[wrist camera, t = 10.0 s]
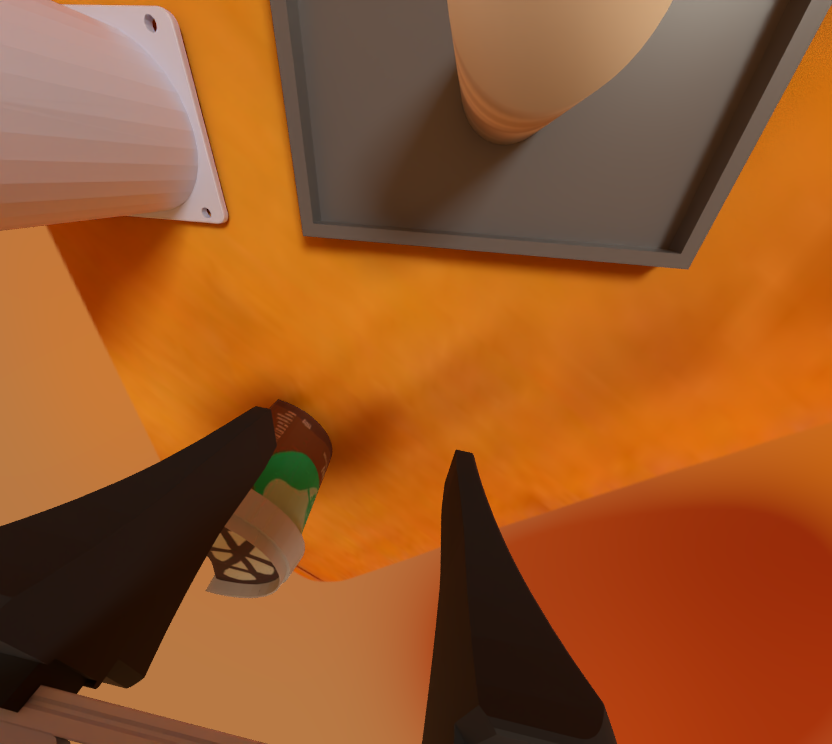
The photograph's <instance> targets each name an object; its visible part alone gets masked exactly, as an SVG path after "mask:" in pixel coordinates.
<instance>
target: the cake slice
mask: <svg viewBox="0 0 832 744" xmlns="http://www.w3.org/2000/svg"><path fill="white" fill-rule="evenodd" d="M269 409H271V412H272V418H273V424H274V430H275V437H276V443H277V447H276V449H275V451H274V453H273V455H272V457H271V458H270V460H269V462H268V464H267V466H266V468H265V469H264V471H263V472H262V474H261V475H260V477H259V478H258V480H257V481H256V482H255V484H254V485H253V487H252V488H251V490H250V491H249V492H248V494H247V495H246V497H245V498H244V499H243V501H242V502H241V504H240V505H239V507H238V508H237V509H236V511H235V512H234V514H233V515H232V516H231V518H230V519H229V521H228V522H227V523H226V525H225V527H224V528H223V530H222V531H221V533H220V534H219V536H218V537H217V539H216V541H215V543H214V544H213V546H212V548H211V549H210V551H209V553H208V555H207V556H208V557H209V559H210V560H211V562H212V565H213V568H214V572H215V576H214V577H213V579H212V581H211V583H210V584H209V586H208V587H207V589H206V591H207V592H211V593H215V594H219V595H224V596H231V597H239V598H258V597H264V596H267V595H270V594H272V593H274V592H275V591H277V589H278V588H279V587H280V585H281V584H282V583H284V582H285V581H286V580H287V579H288V577H289V576H290V574H291V573H292V571H293V570H294V569H295V567H296V566H297V564H298V563H299V561H300V560H301V558H302V557H303V554H304V551H305V546H304V540H303V538H302V535H301V534H302V532H303V529H304V526H305V524H306V521H307V519H308V516H309V513H310V511H311V508H312V506H313V503H314V501H315V498H316V495H317V493H318V490H319V488H320V485H321V482H322V480H323V477H324V475H325V472H326V470H327V467H328V464H329V462H330V459H331V456H332V445H331V442H330V439H329V437H328V435H327V433H326V432H325V430H324V429H323V428H322V427H321V425H320V424H319V423H318V422H317V421H316V420H315V419H314V418H312V417H311V416H310V415H308V414H307V413H306V412H304V411H303V410H301V409H299V408H298V407H296V406H294V405H291V404H289V403H287V402H284V401H281V400H277V401H276V402H275V403H274V404H273V405H272V406H271V407H270V408H269Z"/></svg>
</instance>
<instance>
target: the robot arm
mask: <svg viewBox="0 0 832 744" xmlns="http://www.w3.org/2000/svg"><path fill="white" fill-rule="evenodd" d="M153 19H155V22H156V24H157V30H156V32H155V31H154V28H153V24H152V22H153ZM207 209H208V210H210V212H211V217H210V216H209V215H208V213H207ZM117 216H133V217H145V218H157V219H168V220H180V221H192V222H204V223H215V224H220V223H225V222H226V221H227V220H228V213H227V209H226V205H225V201H224V197H223V193H222V190H221V186H220V182H219V178H218V174H217V170H216V166H215V163H214V159H213V155H212V151H211V147H210V143H209V140H208V136H207V132H206V128H205V124H204V120H203V117H202V113H201V109H200V105H199V101H198V97H197V93H196V90H195V86H194V82H193V78H192V74H191V70H190V67H189V63H188V59H187V55H186V51H185V47H184V43H183V40H182V36H181V32H180V28H179V25H178V23H177V20H176V19H175V17H174V16H173V14H171V13H170V12H169V11H168V10H166V9H164V8H162V7H159V6H126V5H60V4H58V3H56V2H53V1H51V0H0V231H2V230H10V229H19V228H27V227H35V226H43V225H52V224H60V223H68V222H76V221H85V220H93V219H101V218H109V217H117ZM276 447H277V443H276V437H275V430H274V424H273V418H272V412H271V409H267V408H262V407H257V406H255V407H254V408H252V409H250V410H249V411H247V412H245V413H244V414H242V415H240V416H239V417H237V418H235V419H234V420H232V421H231V422H229V423H227V424H226V425H224V426H222V427H221V428H219V429H217V430H216V431H214V432H212V433H211V434H209V435H207V436H206V437H204V438H202V439H201V440H199V441H197V442H195V443H194V444H192V445H190V446H188V447H186V448H184V449H183V450H181V451H179V452H177V453H175V454H173V455H172V456H170V457H168V458H166V459H164V460H162V461H160V462H159V463H157V464H155V465H152V466H151V467H148V468H146V469H145V470H142V471H140V472H138V473H136V474H134V475H132V476H129V477H127V478H125V479H123V480H121V481H118V482H116V483H114V484H111V485H109V486H107V487H104V488H102V489H99V490H97V491H95V492H92V493H90V494H87V495H85V496H83V497H80V498H78V499H75V500H73V501H70V502H68V503H65V504H62V505H60V506H57V507H54V508H52V509H49V510H46V511H44V512H40V513H38V514H35V515H32V516H29V517H27V518H24V519H21V520H18V521H15V522H12V523H9V524H6V525H3V526H0V744H70V741H68V740H71V741H74V742H79V743H82V744H265V743H262V742H258V741H254V740H250V739H247V738H243V737H239V736H235V735H231V734H227V733H224V732H220V731H216V730H212V729H208V728H205V727H201V726H196V725H193V724H189V723H185V722H181V721H177V720H174V719H170V718H166V717H162V716H158V715H154V714H150V713H147V712H143V711H139V710H135V709H131V708H127V707H124V706H120V705H116V704H112V703H108V702H104V701H101V700H97V699H93V698H89V697H85V696H81V695H78V694H77V693H78V691H79V690H80V689H81V688H82V686H86V687H89V688H93V689H96V688H98V687H99V686H100V684H101V683H102V682H103V683H107V684H112V685H115V686H119V687H123V688H129V687H131V686H133V685H134V684H136V683H137V682H139V681H140V680H142V679H143V678H144V677H145V675H146V673H147V671H148V669H149V666H150V664H151V662H152V660H153V658H154V656H155V654H156V652H157V650H158V648H159V645H160V643H161V641H162V639H163V637H164V635H165V633H166V631H167V629H168V627H169V625H170V623H171V621H172V619H173V617H174V615H175V613H176V611H177V610H178V608H179V606H180V604H181V602H182V600H183V598H184V596H185V594H186V592H187V590H188V589H189V587H190V585H191V583H192V581H193V579H194V578H195V575H196V574H197V572H198V570H199V569H200V567H201V565H202V563H203V561H204V560H205V558H206V556H207V555H208V553H209V551H210V549H211V548H212V546H213V544H214V543H215V541H216V539H217V537H218V536H219V534H220V533H221V531H222V530H223V528H224V527H225V525H226V523H227V522H228V521H229V519H230V518H231V516H232V515H233V514H234V512H235V511H236V509H237V508H238V507H239V505H240V504H241V502H242V501H243V499H244V498H245V497H246V495H247V494H248V492H249V491H250V490H251V488H252V487H253V485H254V484H255V482H256V481H257V480H258V478H259V477H260V475H261V474H262V472H263V471H264V469H265V468H266V466H267V464H268V462H269V460H270V458H271V457H272V455H273V453H274V451H275V449H276ZM422 744H617V742H616V739H615V736H614V733H613V729H612V726H611V724H610V721H609V718H608V715H607V712H606V709H605V706H604V704H603V702H602V701H601V699H600V698H599V696H598V695H597V694H596V692H595V691H594V689H593V688H592V687H591V685H590V684H589V682H588V681H587V680H586V678H585V677H584V675H583V674H582V672H581V671H580V669H579V668H578V666H577V665H576V664H575V662H574V661H573V659H572V658H571V656H570V655H569V653H568V652H567V650H566V649H565V647H564V645H563V644H562V642H561V641H560V639H559V638H558V636H557V635H556V633H555V632H554V630H553V629H552V627H551V625H550V624H549V622H548V620H547V619H546V617H545V615H544V614H543V612H542V610H541V609H540V607H539V605H538V604H537V602H536V600H535V599H534V597H533V595H532V594H531V592H530V590H529V588H528V586H527V585H526V583H525V581H524V579H523V577H522V575H521V574H520V572H519V570H518V568H517V566H516V564H515V562H514V560H513V558H512V556H511V554H510V552H509V550H508V548H507V546H506V544H505V541H504V539H503V537H502V535H501V532H500V530H499V528H498V526H497V523H496V521H495V518H494V516H493V513H492V511H491V508H490V505H489V503H488V500H487V497H486V495H485V492H484V489H483V486H482V483H481V480H480V477H479V473H478V470H477V466H476V462H475V458H474V455H473V454H472V453H470V452H465V451H460V450H456V451H455V454H454V457H453V460H452V463H451V466H450V469H449V472H448V475H447V478H446V481H445V485H444V493H443V502H442V514H441V574H440V591H439V601H438V611H437V622H436V631H435V640H434V649H433V658H432V667H431V675H430V684H429V693H428V701H427V709H426V716H425V724H424V733H423V741H422Z"/></svg>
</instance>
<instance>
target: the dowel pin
mask: <svg viewBox="0 0 832 744" xmlns="http://www.w3.org/2000/svg"><path fill="white" fill-rule="evenodd" d="M672 1H673V0H447V3H448V12H449V19H450V26H451V32H452V39H453V46H454V52H455V59H456V65H457V72H458V79H459V85H460V92H461V98H462V104H463V108H464V112H465V114H466V117H467V119H468V121H469V123H470V125H471V126H472V128H473V129H474V130H475V131H476V133H477V134H478V135H480V136H481V137H482V138H484V139H485V140H487V141H489V142H492V143H495V144H502V145H507V144H514V143H517V142H520V141H523V140H525V139H527V138H528V137H530V136H532V135H533V134H535V133H536V132H538V131H539V130H540V129H542V128H543V127H545V126H546V125H548V124H549V123H550V122H552V121H553V120H555V119H556V118H558V117H559V116H561V115H562V114H563V113H565V112H566V111H568V110H569V109H571V108H572V107H574V106H575V105H576V104H578V103H579V102H581V101H582V100H584V99H585V98H587V97H588V96H589V95H591V94H592V93H594V92H595V91H597V90H598V89H599V88H601V87H602V86H603V85H605V84H606V83H607V82H609V81H610V80H611V79H612V78H614V77H615V76H616V75H617V74H618V73H619V72H620V71H621V70H622V69H623V68H624V67H625V66H626V65H627V64H628V63H629V62H630V61H631V60H632V59H633V58H634V56H635V55H636V54H637V53H638V52H639V51H640V50H641V48H642V47H643V46H644V44H645V43H646V42H647V40H648V39H649V38H650V36H651V35H652V34H653V32H654V31H655V29H656V28H657V26H658V25H659V23H660V21H661V20H662V18H663V17H664V15H665V13H666V12H667V10H668V8H669V6H670V4H671V3H672Z"/></svg>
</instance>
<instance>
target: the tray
mask: <svg viewBox="0 0 832 744" xmlns="http://www.w3.org/2000/svg"><path fill="white" fill-rule="evenodd" d="M831 4H832V0H673V1H672V3H671V4H670V6H669V8H668V10H667V12H666V13H665V15H664V17H663V18H662V20H661V21H660V23H659V25H658V26H657V28H656V29H655V31H654V32H653V34H652V35H651V36H650V38H649V39H648V40H647V42H646V43H645V44H644V46H643V47H642V48H641V50H640V51H639V52H638V53H637V54H636V55H635V56H634V58H633V59H632V60H631V61H630V62H629V63H628V64H627V65H626V66H625V67H624V68H623V69H622V70H621V71H620V72H619V73H618V74H617V75H616V76H615V77H614V78H612V79H611V80H610V81H609V82H607V83H606V84H605V85H603V86H602V87H601V88H599V89H598V90H597V91H595V92H594V93H592V94H591V95H589V96H588V97H587V98H585V99H584V100H582V101H581V102H579V103H578V104H576V105H575V106H574V107H572V108H571V109H569V110H568V111H566V112H565V113H563V114H562V115H561V116H559V117H558V118H556V119H555V120H553V121H552V122H550V123H549V124H548V125H546V126H545V127H543V128H542V129H540V130H539V131H538V132H536V133H535V134H533V135H532V136H530V137H528V138H527V139H525V140H523V141H520V142H517V143H514V144H507V145H502V144H495V143H492V142H489V141H487V140H485V139H484V138H482V137H481V136H480V135H478V134H477V133H476V131H475V130H474V129H473V128H472V126H471V125H470V123H469V121H468V119H467V117H466V114H465V112H464V108H463V104H462V98H461V92H460V85H459V79H458V72H457V65H456V59H455V52H454V46H453V39H452V32H451V26H450V19H449V12H448V3H447V0H270V5H271V12H272V19H273V26H274V33H275V40H276V47H277V54H278V61H279V68H280V75H281V82H282V90H283V97H284V104H285V111H286V118H287V125H288V132H289V139H290V146H291V153H292V160H293V167H294V174H295V181H296V188H297V195H298V202H299V209H300V216H301V223H302V230H303V236H310V237H322V238H334V239H345V240H357V241H368V242H380V243H391V244H403V245H414V246H426V247H437V248H449V249H460V250H472V251H483V252H495V253H506V254H518V255H529V256H541V257H552V258H564V259H575V260H587V261H598V262H610V263H621V264H633V265H644V266H656V267H668V268H679V269H689V267H690V265H691V263H692V261H693V259H694V258H695V256H696V254H697V252H698V250H699V248H700V246H701V245H702V243H703V241H704V239H705V237H706V235H707V234H708V232H709V230H710V228H711V226H712V224H713V222H714V221H715V219H716V217H717V215H718V213H719V211H720V210H721V208H722V206H723V204H724V202H725V200H726V198H727V197H728V195H729V193H730V191H731V189H732V187H733V185H734V184H735V182H736V180H737V178H738V176H739V174H740V173H741V171H742V169H743V167H744V165H745V163H746V161H747V160H748V158H749V156H750V154H751V152H752V150H753V149H754V147H755V145H756V143H757V141H758V139H759V137H760V136H761V134H762V132H763V130H764V128H765V126H766V124H767V123H768V121H769V119H770V117H771V115H772V113H773V112H774V110H775V108H776V106H777V104H778V102H779V100H780V99H781V97H782V95H783V93H784V91H785V89H786V88H787V86H788V84H789V82H790V80H791V78H792V76H793V75H794V73H795V71H796V69H797V67H798V65H799V63H800V62H801V60H802V58H803V56H804V54H805V52H806V51H807V49H808V47H809V45H810V43H811V41H812V39H813V38H814V36H815V34H816V32H817V30H818V28H819V27H820V25H821V23H822V21H823V19H824V17H825V15H826V14H827V12H828V10H829V8H830V6H831Z"/></svg>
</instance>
